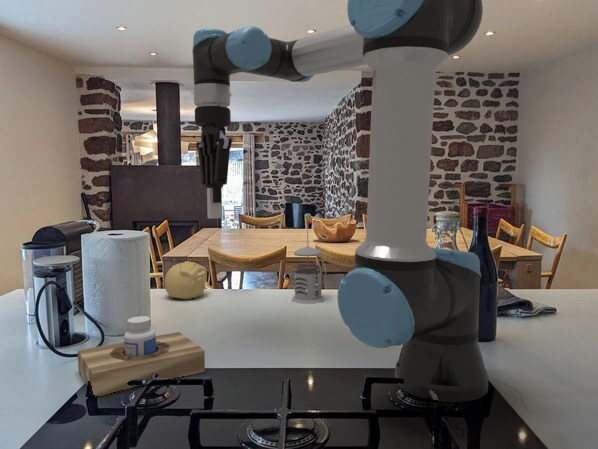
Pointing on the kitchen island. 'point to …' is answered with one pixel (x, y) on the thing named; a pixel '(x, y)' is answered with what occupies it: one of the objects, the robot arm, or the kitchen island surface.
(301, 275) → the french press
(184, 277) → the sculpture
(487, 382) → the robot arm
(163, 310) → the kitchen island surface
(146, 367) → the board
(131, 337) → the pill bottle
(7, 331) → the kitchen island surface
